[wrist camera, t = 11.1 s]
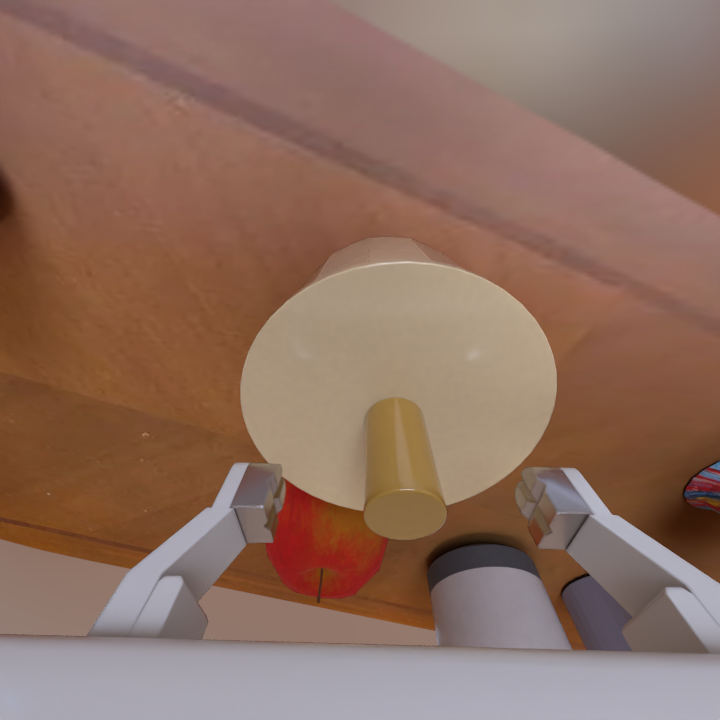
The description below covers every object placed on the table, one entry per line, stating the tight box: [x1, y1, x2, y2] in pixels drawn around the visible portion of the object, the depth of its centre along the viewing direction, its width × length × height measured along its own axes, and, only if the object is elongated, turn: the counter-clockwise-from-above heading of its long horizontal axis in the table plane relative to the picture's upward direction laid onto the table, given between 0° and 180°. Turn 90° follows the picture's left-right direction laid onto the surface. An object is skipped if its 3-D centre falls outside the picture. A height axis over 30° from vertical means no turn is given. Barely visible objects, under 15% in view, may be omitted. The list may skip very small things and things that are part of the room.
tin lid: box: [240, 258, 557, 540], centre depth 11 cm, size 14×14×6 cm
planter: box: [427, 544, 573, 650], centre depth 33 cm, size 13×13×10 cm
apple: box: [266, 478, 388, 603], centre depth 23 cm, size 9×9×12 cm
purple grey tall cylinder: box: [562, 575, 633, 651], centre depth 33 cm, size 10×10×15 cm
